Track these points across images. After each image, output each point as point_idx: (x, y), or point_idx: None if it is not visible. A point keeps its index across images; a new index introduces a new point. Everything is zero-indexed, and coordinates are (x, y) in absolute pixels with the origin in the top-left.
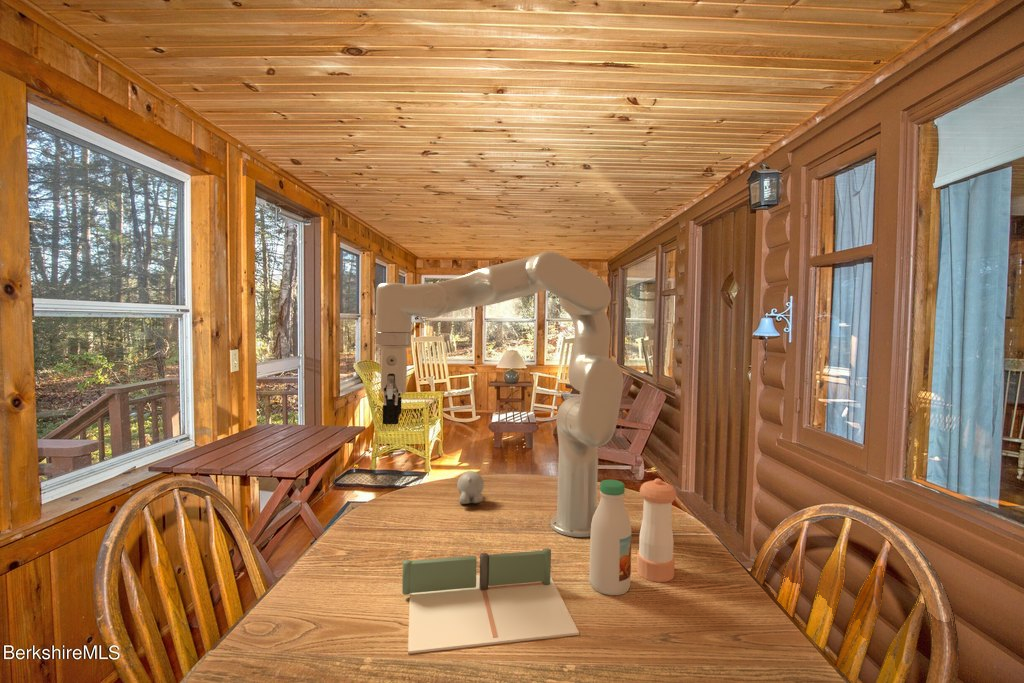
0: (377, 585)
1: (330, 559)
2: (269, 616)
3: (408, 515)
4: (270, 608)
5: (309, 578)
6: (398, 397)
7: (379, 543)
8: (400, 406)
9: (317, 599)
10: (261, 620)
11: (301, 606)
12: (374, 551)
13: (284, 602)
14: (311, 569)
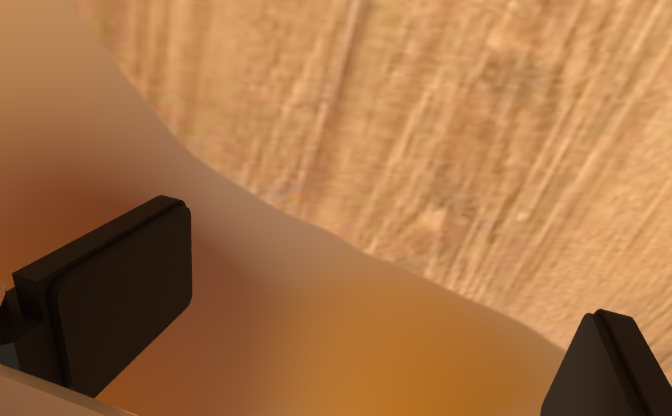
0: (642, 159)
1: (457, 242)
2: None
3: (262, 36)
4: None
5: (528, 285)
6: (44, 310)
7: (414, 132)
8: (140, 237)
9: (632, 279)
10: None
11: (644, 306)
12: (455, 148)
13: None
14: (489, 278)
